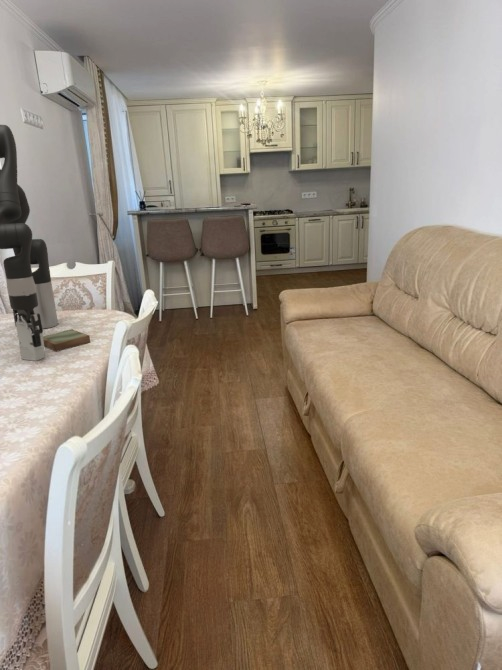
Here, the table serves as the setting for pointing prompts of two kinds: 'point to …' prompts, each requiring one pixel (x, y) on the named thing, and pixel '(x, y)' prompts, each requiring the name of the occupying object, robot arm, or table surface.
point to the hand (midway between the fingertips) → (31, 343)
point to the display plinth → (65, 340)
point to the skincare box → (29, 343)
